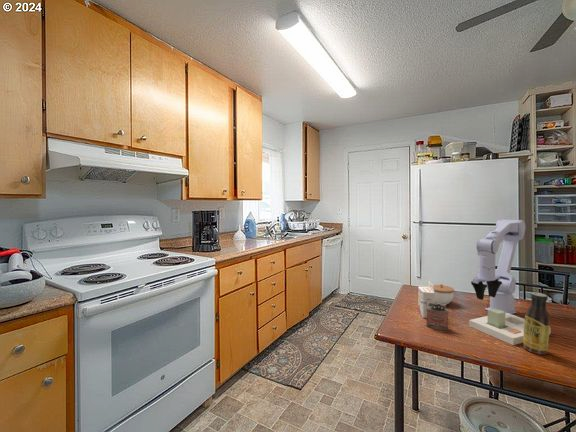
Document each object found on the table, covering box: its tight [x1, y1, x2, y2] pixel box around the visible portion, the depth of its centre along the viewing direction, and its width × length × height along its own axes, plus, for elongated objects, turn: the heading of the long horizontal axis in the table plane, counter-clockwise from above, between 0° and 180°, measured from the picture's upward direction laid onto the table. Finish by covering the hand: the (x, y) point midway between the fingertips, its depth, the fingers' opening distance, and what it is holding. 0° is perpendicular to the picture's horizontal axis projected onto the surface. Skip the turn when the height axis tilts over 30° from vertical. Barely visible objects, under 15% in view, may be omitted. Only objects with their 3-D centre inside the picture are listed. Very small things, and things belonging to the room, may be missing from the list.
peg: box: [487, 308, 506, 329], centre depth 105 cm, size 4×4×8 cm
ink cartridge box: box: [417, 280, 436, 319], centre depth 121 cm, size 9×5×15 cm, turn 168°
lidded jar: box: [431, 284, 455, 306], centre depth 135 cm, size 11×11×9 cm
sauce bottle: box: [522, 291, 551, 356], centre depth 90 cm, size 7×6×20 cm
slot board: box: [468, 313, 552, 346], centre depth 106 cm, size 22×16×3 cm
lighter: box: [425, 303, 450, 331], centre depth 108 cm, size 8×3×10 cm, turn 71°
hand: (486, 297), depth 115 cm, fingers open, 7 cm apart
